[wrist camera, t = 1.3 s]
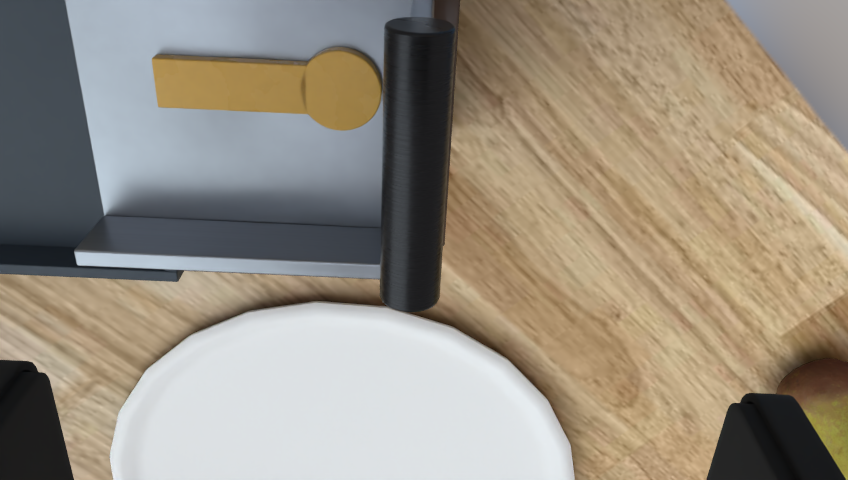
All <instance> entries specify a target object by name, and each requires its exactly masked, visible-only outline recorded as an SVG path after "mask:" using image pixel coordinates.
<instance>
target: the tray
mask: <svg viewBox="0 0 848 480" xmlns="http://www.w3.org/2000/svg"><path fill="white" fill-rule="evenodd" d="M103 216H104V213H103V207H102V202H101V196H100V191H99V185H98V180H97V174H96V169H95V164H94V158H93V153H92V147H91V142H90V136H89V131H88V125H87V120H86V114H85V109H84V103H83V98H82V93H81V87H80V82H79V76H78V71H77V65H76V60H75V54H74V49H73V43H72V38H71V32H70V27H69V22H68V16H67V11H66V5H65V0H0V274H19V275H41V276H63V277H85V278H107V279H129V280H151V281H173V282H178V281H179V279H180V277H181V275H182V273H183V272H184V270H162V269H140V268H118V267H96V266H78V265H77V263H76V258H75V254H74V250H75V249H76V248H77V246H78V245H79V244H80V243H81V242H82V241H83V239H84V238H85V237H86V236H87V235H88V233H89V232H90V231H91V230H92V229H93V228H94V226H95V225H96V224H97V223H98V222H99V220H100V219H101V218H102V217H103Z"/></svg>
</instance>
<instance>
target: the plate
mask: <svg viewBox="0 0 848 480" xmlns="http://www.w3.org/2000/svg"><path fill="white" fill-rule="evenodd" d="M110 462H111V468H112V474H113V480H575V477H574V469H573V461H572V452H571V445H570V442H569V440H568V439H567V437H566V435H565V433H564V431H563V429H562V427H561V425H560V423H559V421H558V419H557V417H556V415H555V413H554V411H553V409H552V407H551V405H550V403H549V401H548V399H547V398H546V397H545V396H544V395H543V394H542V393H541V392H540V391H539V390H538V389H537V388H536V387H535V386H534V385H533V384H532V383H531V382H530V381H529V380H528V379H527V378H526V377H525V376H524V375H523V374H522V373H521V372H520V371H519V370H518V369H517V368H516V367H515V366H514V365H513V364H512V363H511V362H510V361H509V360H508V359H507V358H506V357H504V356H502V355H500V354H499V353H497V352H495V351H494V350H492V349H490V348H488V347H487V346H485V345H483V344H482V343H480V342H478V341H477V340H475V339H473V338H471V337H470V336H468V335H466V334H465V333H463V332H461V331H459V330H458V329H456V328H454V327H453V326H449V325H446V324H443V323H439V322H436V321H433V320H430V319H426V318H423V317H420V316H416V315H413V314H410V313H407V312H402V311H398V310H394V309H392V308H390V307H387V306H375V305H362V304H349V303H336V302H323V301H313V302H306V303H299V304H292V305H285V306H278V307H271V308H264V309H258V310H251V311H247V312H245V313H242V314H240V315H237V316H235V317H232V318H230V319H227V320H225V321H223V322H220V323H218V324H215V325H213V326H210V327H208V328H205V329H203V330H200V331H198V332H195V333H193V334H191V335H189V336H188V337H187V338H186V339H184V340H183V341H182V342H180V343H179V344H178V345H177V346H175V347H174V348H173V349H172V350H170V351H169V352H168V353H166V354H165V355H164V356H163V357H161V358H160V359H159V360H157V361H156V362H155V363H154V364H152V365H151V366H150V367H149V368H147V370H146V371H145V373H144V374H143V376H142V377H141V379H140V380H139V382H138V383H137V385H136V386H135V388H134V389H133V391H132V393H131V394H130V396H129V397H128V399H127V400H126V402H125V403H124V405H123V406H122V408H121V409H120V411H119V414H118V418H117V423H116V428H115V433H114V438H113V442H112V447H111V452H110Z"/></svg>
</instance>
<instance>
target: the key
mask: <svg viewBox="0 0 848 480" xmlns="http://www.w3.org/2000/svg"><path fill="white" fill-rule="evenodd" d="M152 66H153V74H154V81H155V89H156V96H157V104H158V107H161V108H183V109H204V110H226V111H247V112H269V113H290V114H308V115H309V116H310V117H311V118H312V119H313V120H315V121H316V122H317V123H319V124H320V125H322V126H324V127H326V128H329V129H333V130H339V131H346V130H352V129H356V128H358V127H361V126H363V125H364V124H366V123H367V122H368V121H370V120H371V119H372V118H373V116H374V115H375V114H376V112H377V110H378V108H379V105H380V102H381V98H382V90H383V89H382V80H381V77H380V74H379V72H378V70H377V68H376V66H375V65H374V64H373V63H372V61H371V60H370V59H369V58H368V57H366V56H365V55H364V54H362V53H360V52H358V51H356V50H354V49H351V48H346V47H332V48H328V49H325V50H323V51H320V52H319V53H317V54H316V55H314V56H313V57H312V58H311V59H310V60H309V61H291V60H269V59H248V58H226V57H205V56H184V55H162V54H157V55H155V56H154V57H153V58H152Z"/></svg>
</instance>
